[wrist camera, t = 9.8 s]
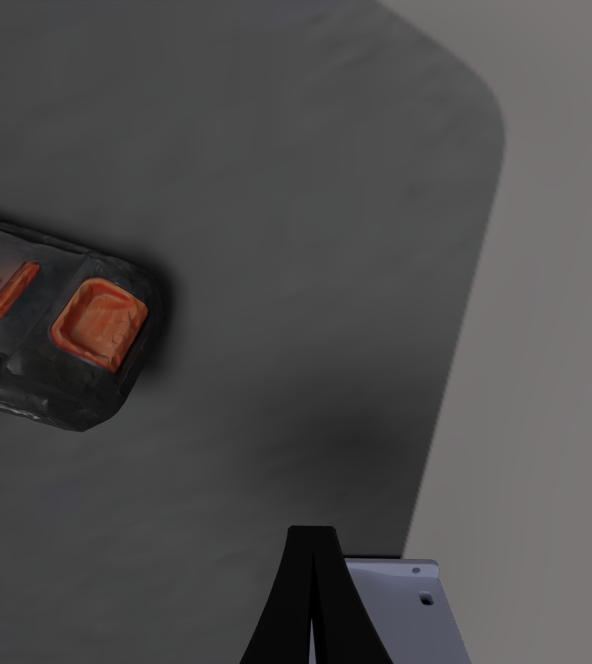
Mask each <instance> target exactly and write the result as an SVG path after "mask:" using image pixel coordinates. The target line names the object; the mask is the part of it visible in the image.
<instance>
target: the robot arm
mask: <svg viewBox="0 0 592 664" xmlns="http://www.w3.org/2000/svg"><path fill="white" fill-rule="evenodd" d="M438 577H439V566H438V563H437V562H436V561H434V560H420V559H418V560H415V559H364V558H344V556H343V554H342V551H341V548H340V544H339V541H338V537H337V534H336V529H335V528H333V527H332V526H291V527H290V528H288V534H287V540H286V545H285V549H284V553H283V556H282V560H281V563H280V566H279V570H278V573H277V575H276V578H275V581H274V584H273V587H272V590H271V592H270V595H269V598H268V600H267V603H266V605H265V608H264V610H263V612H262V615H261V617H260V620H259V622H258V625H257V627H256V629H255V632H254V634H253V636H252V638H251V640H250V643H249V645H248V647H247V649H246V651H245V653H244V655H243V657H242V659H241V661H240V663H239V664H471V661H470V659H469V656H468V654H467V651H466V649H465V646H464V643H463V641H462V638H461V635H460V633H459V630H458V628H457V625H456V623H455V620H454V617H453V614H452V612H451V609H450V607H449V604H448V601H447V599H446V596H445V594H444V591H443V588H442V586H441V583H440V581H439V578H438Z"/></svg>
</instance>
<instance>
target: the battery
mask: <svg viewBox="0 0 592 664" xmlns="http://www.w3.org/2000/svg"><path fill="white" fill-rule="evenodd" d="M162 298H163V292H162V290H161V288H160V286H159V284H158V282H157V281H156V280H155V278H154V277H153V275H152V274H150V273H149V272H147V271H146V270H145V269H143V268H141V267H140V266H138V265H136V264H133V263H131V262H128V261H125V260H123V259H120V258H118V257H114V256H111V255H108V254H105V253H102V252H99V251H97V250H94V249H91V248H88V247H85V246H82V245H78V244H74V243H71V242H68V241H65V240H61V239H58V238H56V237H54V236H50V235H47V234H44V233H41V232H38V231H35V230H31V229H27V228H24V227H20V226H16V225H14V224H12V223H10V222H0V411H2V412H5V413H9V414H12V415H16V416H21V417H26V418H29V419H31V420H34V421H37V422H40V423H44V424H48V425H52V426H55V427H58V428H61V429H64V430H70V431H77V432H84V431H86V430H88V429H90V428H92V427H94V426H96V425H98V424H100V423H102V422H104V421H106V420H108V419H110V418H111V417H113V416H114V415H115V414H116V413H117V412H118V411H119V410H120V408H121V407H122V405H123V404H124V403H125V401H126V399H127V397H128V395H129V393H130V391H131V390H132V388H133V386H134V384H135V382H136V380H137V378H138V376H139V374H140V372H141V370H142V368H143V366H144V365H145V363H146V361H147V359H148V358H149V356H150V354H151V352H152V349H153V347H154V345H155V343H156V342H157V340H158V339H159V337H160V336H161V333H162V331H163V327H164V316H163V311H162Z"/></svg>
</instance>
